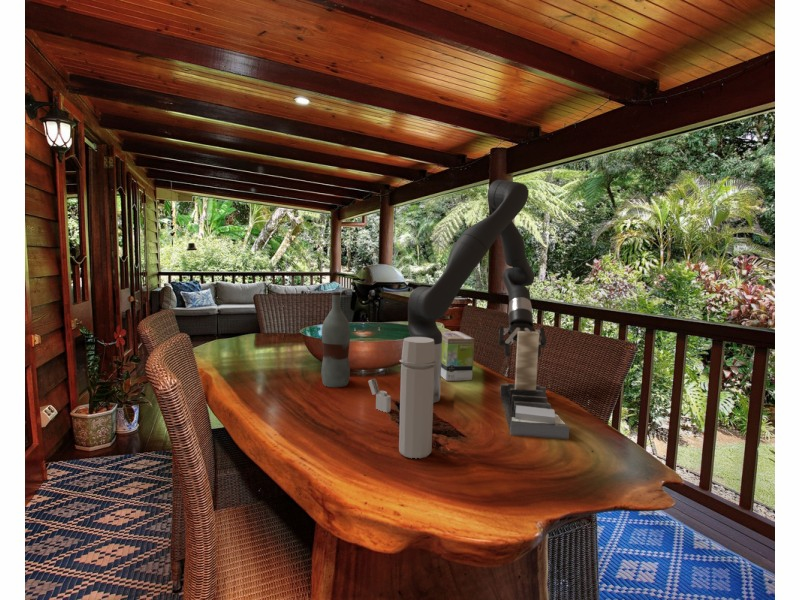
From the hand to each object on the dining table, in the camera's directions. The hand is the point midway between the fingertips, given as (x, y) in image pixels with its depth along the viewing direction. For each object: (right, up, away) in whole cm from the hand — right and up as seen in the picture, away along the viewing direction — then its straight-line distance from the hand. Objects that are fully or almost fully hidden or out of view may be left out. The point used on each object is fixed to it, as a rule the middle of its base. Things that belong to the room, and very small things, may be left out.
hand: (523, 357), depth 138 cm
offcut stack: (-5, -14, -29) cm, 32 cm away
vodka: (-58, -10, +9) cm, 60 cm away
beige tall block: (-2, -12, -8) cm, 14 cm away
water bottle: (-34, -16, -39) cm, 54 cm away
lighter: (-43, -13, -13) cm, 47 cm away
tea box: (-19, -10, +23) cm, 32 cm away
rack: (-3, -14, -18) cm, 23 cm away
